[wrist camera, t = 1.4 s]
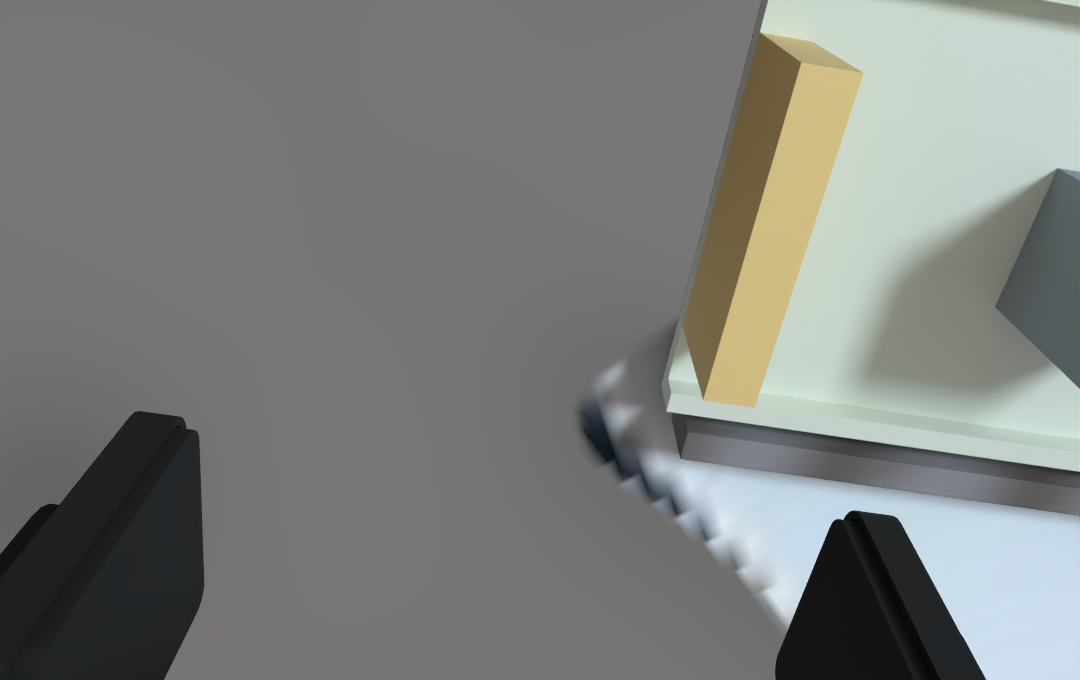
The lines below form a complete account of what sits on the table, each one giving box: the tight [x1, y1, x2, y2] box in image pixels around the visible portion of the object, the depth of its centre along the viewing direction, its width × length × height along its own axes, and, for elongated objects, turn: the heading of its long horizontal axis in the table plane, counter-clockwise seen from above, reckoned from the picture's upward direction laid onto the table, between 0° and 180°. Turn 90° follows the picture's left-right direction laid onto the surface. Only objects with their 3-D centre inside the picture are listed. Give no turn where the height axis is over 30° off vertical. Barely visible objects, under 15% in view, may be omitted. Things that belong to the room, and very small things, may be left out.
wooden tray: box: [661, 0, 1080, 472], centre depth 27 cm, size 20×16×6 cm
